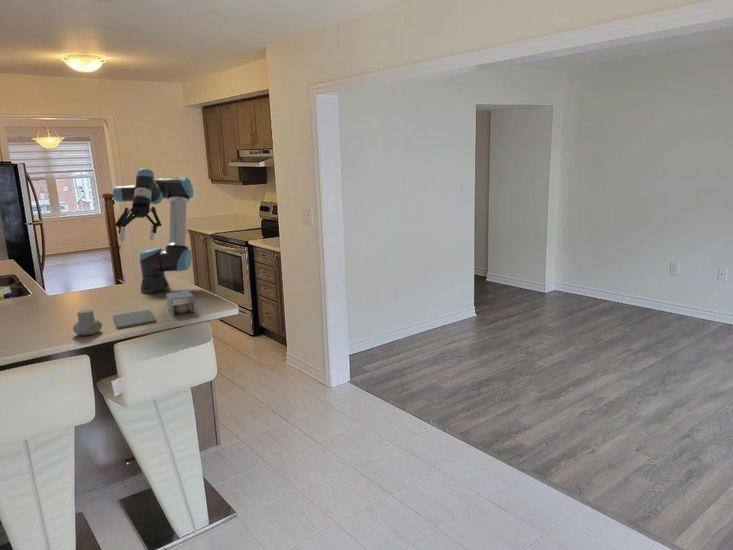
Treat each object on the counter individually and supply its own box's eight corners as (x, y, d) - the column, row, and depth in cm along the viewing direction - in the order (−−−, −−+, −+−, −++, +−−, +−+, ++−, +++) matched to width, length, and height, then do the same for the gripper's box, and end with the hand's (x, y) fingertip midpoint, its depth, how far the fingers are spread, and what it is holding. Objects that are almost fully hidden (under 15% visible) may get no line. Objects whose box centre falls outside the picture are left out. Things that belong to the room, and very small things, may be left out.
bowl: (172, 311, 250) (171, 304, 249) (187, 308, 253) (186, 301, 252) (175, 314, 244) (174, 307, 243) (190, 312, 247) (190, 305, 247)
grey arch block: (168, 310, 251) (166, 293, 249) (189, 307, 256) (187, 290, 254) (173, 317, 241) (170, 299, 239) (195, 313, 246) (193, 295, 244)
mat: (113, 317, 243) (112, 315, 243) (149, 311, 251) (149, 309, 251) (117, 329, 226) (116, 326, 226) (156, 322, 234) (155, 320, 234)
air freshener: (92, 328, 228) (89, 306, 226) (106, 330, 225) (103, 308, 223) (70, 336, 219) (66, 314, 216) (84, 338, 215) (80, 315, 213)
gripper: (111, 196, 242) (104, 237, 233) (165, 194, 242) (161, 235, 234) (118, 204, 248) (112, 244, 240) (171, 202, 249) (166, 242, 241)
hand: (136, 239), depth 237 cm, fingers open, 13 cm apart
